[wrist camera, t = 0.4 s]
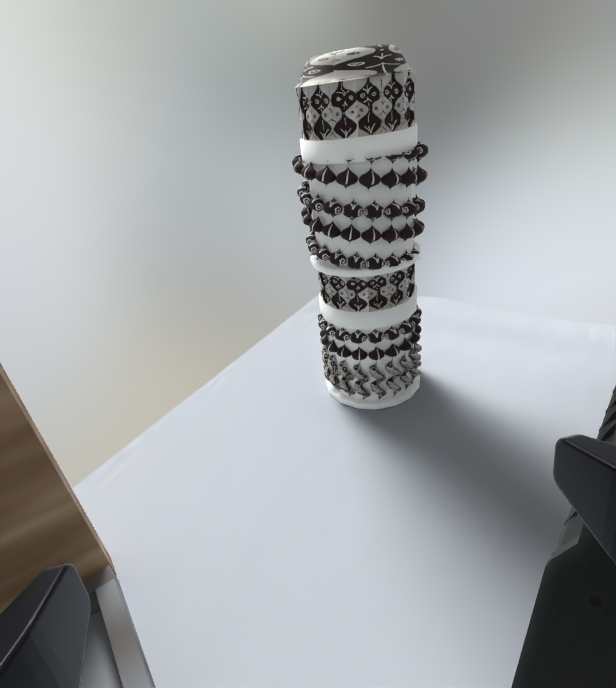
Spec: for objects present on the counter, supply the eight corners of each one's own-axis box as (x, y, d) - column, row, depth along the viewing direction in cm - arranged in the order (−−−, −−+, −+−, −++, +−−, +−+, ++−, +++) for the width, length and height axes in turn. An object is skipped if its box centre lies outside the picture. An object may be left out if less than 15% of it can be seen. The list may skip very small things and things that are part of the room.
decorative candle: (412, 422, 34) (411, 33, 22) (305, 402, 38) (252, 63, 25) (434, 360, 41) (443, 39, 29) (342, 348, 45) (314, 61, 32)
